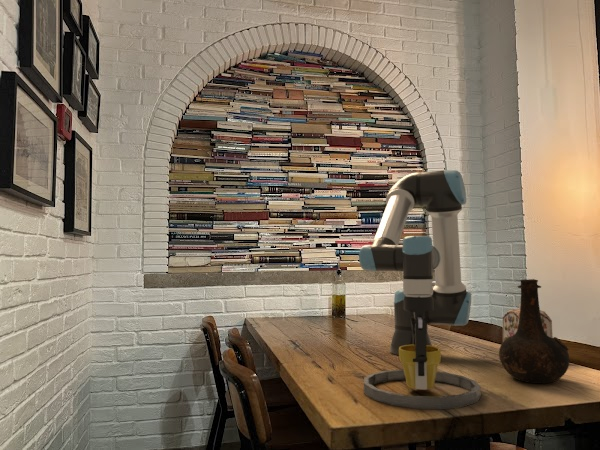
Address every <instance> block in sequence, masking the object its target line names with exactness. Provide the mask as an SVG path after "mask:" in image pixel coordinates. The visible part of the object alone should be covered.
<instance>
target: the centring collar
mask: <svg viewBox="0 0 600 450" xmlns="http://www.w3.org/2000/svg"><path fill="white" fill-rule="evenodd" d="M401 380H402V381H403V380H406V378H405V373H404V369H391V370H382V371H377V372H374V373H370V374H368V375H367V376H365V377H364V378H363V394H364V395H366V396H367V397H369V398H370V399H372V400H374V401H377V402H380V403H383V404H386V405H389V406H396V407H400V408H401V407H402V408H409V409H416V410H417V409H418V410H419V409H420V410H447V409H457V407H460V408H465V407H468V406H471V405H474V404H476V402H477V403H478V401H479V400H480V398H481V397H482V396H481V393H482V392H481V385H480V384H479V383H477V381H476V380H474V379H471V378H468V377H466V376H464V375H459V374H455V373H450V372H446V371H438V370H437V372H436V378H435V382H439V383H444V382H445V383H444V384H450V385H453V384H454V386H457V385H459V386H458V387H460V386H461V387H460V388H463V389H465V388H466V389H465V390H467V389H468V391H466V392H464V393H463V392H462V393H460V394H452V395H441V396H440V395H439V396H434V395H433V396H432V395H431V396H428V395H413V394H405V393H404V394H403V393H398V392H392V391H387V390H384V389H381V388H377V387H376V386H374V385H376V384H380V383H381V384H382V383H384V382H389V381H401ZM470 390H471V391H470ZM473 403H474V404H473ZM470 404H471V405H470ZM467 405H468V406H467ZM464 406H465V407H464Z"/></svg>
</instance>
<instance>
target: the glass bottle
mask: <svg viewBox="0 0 600 450" xmlns="http://www.w3.org/2000/svg"><path fill="white" fill-rule="evenodd" d="M538 282H539V280H538V279H535V278H532V279H531V278H530V279H529V278H527V279H526V278H525V279H521V280H520V285H517V288H518V289H520V304H521V306H520V318H519V324H518V329H517V332H516V333H515V334H514V335H513V336H511V337H509V338H507V339H506V340H505V341H504V342H503V341H502V343H501V344H500V347H499V350H498V358H499V361H500V363H501V366H502V367H503V369H504V370H505V371H506V372H507V374H509V375H510V376H511V377H513V378H514V379H516V380H519V381H522V382H526V383H530V384H532V383H533V384H548V383H553V382H557V381H558V380H560V379H561V378H563V377H564V375H565V374H566V373H567V371H568V370H569V366H570V355H569V348H568V346H567V345H566V344H564V343H563V342H562V340H560V339H559V338H558V337H556V336H553V338H551V337H549V336H547V335H546V333H545V331H544V328H543V325H542V320H541V314H540V310H541V309H540V301H539V291H538V290H539V289H540V288H542V286H541V285H539V284H538Z"/></svg>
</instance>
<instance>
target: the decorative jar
mask: <svg viewBox="0 0 600 450" xmlns="http://www.w3.org/2000/svg"><path fill="white" fill-rule="evenodd" d="M520 306H521V303H520V304H518V308H512V309H509V310H507V311H506V313H504V315H503V316H502V343H503V342H504V341H505V340H506V339H507V338H509V337H511V336H513V335H514V334H515V333H516V332H517V329H518V324H519V318H520ZM540 314H541V320H542V325H543V328H544V331H545V333H546V335H547V336H549V337H551V338H554V336H553V321H552V318H551V317H550V316H549V314H548V313H546V311H544V310H541V309H540Z"/></svg>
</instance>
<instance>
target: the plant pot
mask: <svg viewBox="0 0 600 450" xmlns="http://www.w3.org/2000/svg"><path fill="white" fill-rule="evenodd" d="M426 354H427V361H426V362H427V389H416V384H415V362H413V359H416V352H415V345H404V346H401V347H399V355H398V357H399V362H400V363H402V364H401V365H402V368H403V369H404V373H405V378H406V379H405V381H406V385H407V387H408V388H409V389H413V390H419V391H421V390H422V391H426V390H431V389H433V388H435V383H436V381H435V378H436V372H437V371H438V366H439V364H440V363H441V348H440V347H439V346H434V345H432V346H431V345H426ZM419 356H423V355H419ZM403 369H402V370H403Z"/></svg>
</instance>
